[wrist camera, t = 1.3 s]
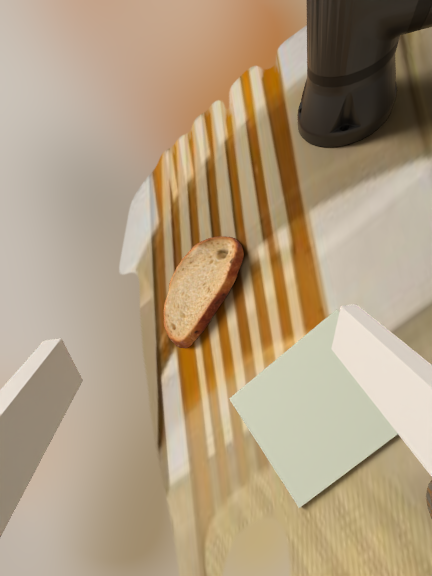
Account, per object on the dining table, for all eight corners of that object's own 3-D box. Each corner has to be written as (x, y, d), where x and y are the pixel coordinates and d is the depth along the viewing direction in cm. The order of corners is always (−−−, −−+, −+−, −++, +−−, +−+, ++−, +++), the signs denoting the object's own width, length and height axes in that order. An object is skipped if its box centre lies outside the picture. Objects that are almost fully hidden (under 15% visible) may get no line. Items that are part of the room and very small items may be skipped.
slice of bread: (172, 353, 40) (160, 352, 36) (158, 267, 47) (146, 260, 44) (269, 319, 35) (265, 314, 32) (236, 230, 42) (230, 219, 39)
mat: (336, 310, 32) (336, 309, 31) (437, 401, 25) (440, 402, 25) (230, 398, 33) (229, 398, 33) (299, 505, 27) (299, 508, 26)
